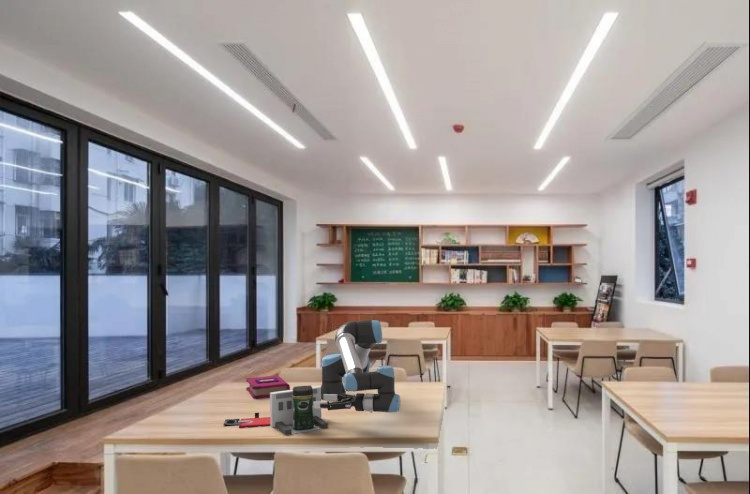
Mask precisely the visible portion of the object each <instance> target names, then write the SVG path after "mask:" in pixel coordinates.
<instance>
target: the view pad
mask: <svg viewBox="0 0 750 494" xmlns="http://www.w3.org/2000/svg"><path fill="white" fill-rule="evenodd" d="M288 427H289V428H291V429H292V433H293V435H295V434H296V435H297V434H300V433H307V432H312V431H318V430H320V427H319V426H317V425H316V424H314V427H313V428H311V429H305V430H295V429H293V425H288Z"/></svg>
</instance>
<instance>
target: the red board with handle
mask: <svg viewBox="0 0 750 494" xmlns="http://www.w3.org/2000/svg"><path fill="white" fill-rule="evenodd" d="M229 425H231V426H232V425H238V428H239V429H244V428H245V427H248V428H259V427H258V426H261V427H271V426H270V416H266V417H260V412H255V413H254V417H250V418H248V417H247V418H230V419H229V418H228V419H225V420H224V423H223V426H229ZM245 429H246V428H245Z"/></svg>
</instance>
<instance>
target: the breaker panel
mask: <svg viewBox="0 0 750 494" xmlns="http://www.w3.org/2000/svg"><path fill="white" fill-rule="evenodd" d="M312 390H313V398H312V409H313V416H318V417H319V418H321V419H322V409H321V408H313V402H314V401H315V402H322V399H321V386H320V385H316V386H312ZM292 392H293V389H290V390H286V391H278V392H271V393H270V397H269V413H270V414H269V417H270V426H269V427H271V428H276V427H275V422H281V421H282V422H283V423H284V424H286V425H287V426H290V425H293V410H294V402H293V398H292Z"/></svg>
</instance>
